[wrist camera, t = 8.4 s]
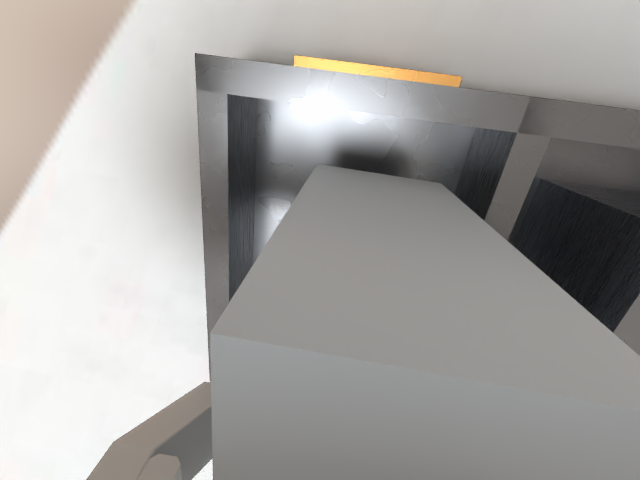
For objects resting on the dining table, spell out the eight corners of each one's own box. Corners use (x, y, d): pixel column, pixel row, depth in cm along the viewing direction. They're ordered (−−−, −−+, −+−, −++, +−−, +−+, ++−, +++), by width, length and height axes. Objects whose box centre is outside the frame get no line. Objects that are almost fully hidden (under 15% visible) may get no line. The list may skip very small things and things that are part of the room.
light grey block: (449, 184, 10) (751, 429, 2) (375, 413, 14) (400, 740, 7) (317, 163, 10) (210, 333, 2) (286, 397, 14) (217, 699, 7)
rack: (766, 127, 12) (1195, 151, 6) (563, 417, 19) (660, 562, 13) (240, 59, 13) (137, 18, 7) (237, 362, 20) (187, 473, 14)
